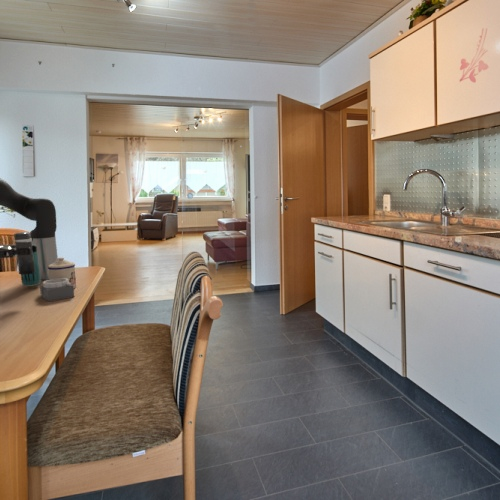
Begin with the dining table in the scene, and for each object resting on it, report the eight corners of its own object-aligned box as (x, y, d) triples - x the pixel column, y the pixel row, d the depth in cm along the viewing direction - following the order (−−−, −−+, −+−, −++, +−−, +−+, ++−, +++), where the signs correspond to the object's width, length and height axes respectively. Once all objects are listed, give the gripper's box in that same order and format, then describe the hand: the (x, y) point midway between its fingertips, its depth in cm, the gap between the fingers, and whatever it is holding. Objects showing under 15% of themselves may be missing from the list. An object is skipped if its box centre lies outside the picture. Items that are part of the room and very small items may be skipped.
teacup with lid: (75, 290, 142) (72, 258, 140) (48, 292, 139) (44, 260, 138) (79, 282, 153) (76, 253, 152) (54, 285, 151) (51, 255, 149)
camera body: (40, 296, 135) (38, 280, 134) (65, 291, 140) (64, 276, 140) (47, 301, 128) (46, 285, 127) (74, 296, 133) (72, 281, 132)
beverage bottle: (37, 284, 152) (31, 234, 149) (44, 287, 148) (39, 235, 145) (19, 288, 147) (12, 235, 144) (26, 290, 143) (20, 236, 140)
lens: (17, 273, 128) (12, 233, 125) (33, 270, 131) (28, 231, 128) (20, 275, 124) (15, 234, 122) (37, 272, 127) (32, 232, 125)
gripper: (-39, 244, 116) (24, 241, 119) (-16, 238, 130) (39, 235, 133) (-35, 269, 117) (27, 265, 120) (-13, 260, 131) (42, 257, 134)
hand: (33, 249), depth 127 cm, fingers closed on lens, 4 cm apart
